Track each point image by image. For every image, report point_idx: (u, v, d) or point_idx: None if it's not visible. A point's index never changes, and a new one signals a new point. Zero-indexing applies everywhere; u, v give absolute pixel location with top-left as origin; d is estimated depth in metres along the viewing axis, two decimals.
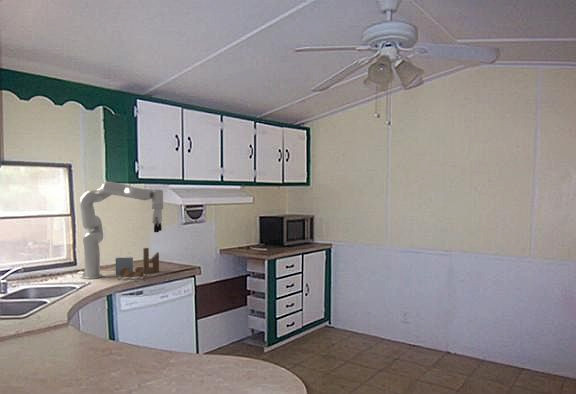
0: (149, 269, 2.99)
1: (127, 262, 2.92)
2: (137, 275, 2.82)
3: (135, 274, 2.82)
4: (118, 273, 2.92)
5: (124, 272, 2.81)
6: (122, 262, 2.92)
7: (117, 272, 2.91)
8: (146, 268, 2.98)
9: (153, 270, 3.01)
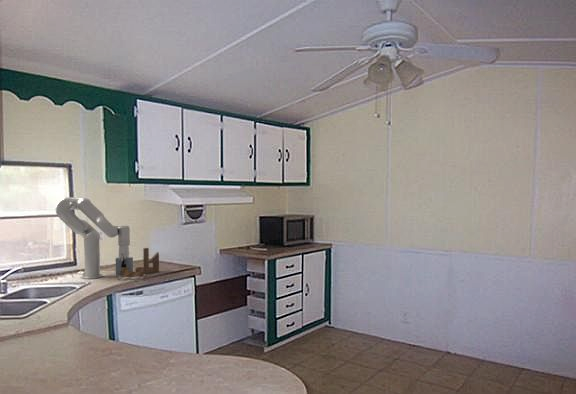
0: (149, 269, 2.99)
1: (127, 262, 2.92)
2: (137, 275, 2.82)
3: (135, 274, 2.82)
4: (118, 273, 2.92)
5: (124, 272, 2.81)
6: None
7: (117, 272, 2.91)
8: (146, 268, 2.98)
9: (153, 270, 3.01)
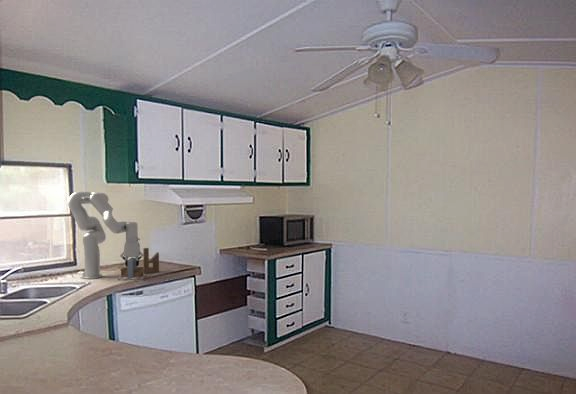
0: (149, 269, 2.99)
1: None
2: (137, 275, 2.82)
3: (135, 274, 2.82)
4: None
5: (124, 272, 2.81)
6: None
7: None
8: (146, 268, 2.98)
9: (153, 270, 3.01)
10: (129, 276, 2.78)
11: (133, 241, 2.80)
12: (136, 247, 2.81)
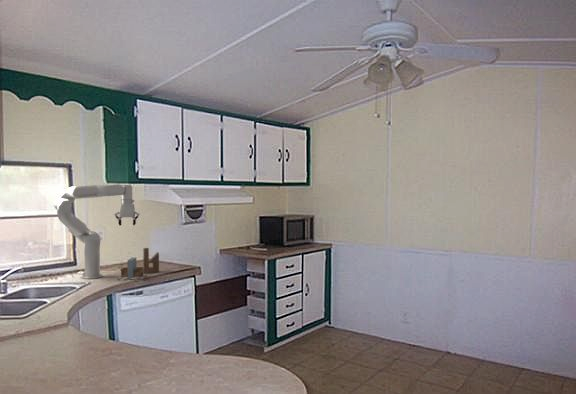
0: (149, 269, 2.99)
1: None
2: (137, 275, 2.82)
3: (135, 274, 2.82)
4: None
5: (124, 272, 2.81)
6: None
7: None
8: (146, 268, 2.98)
9: (153, 270, 3.01)
10: (129, 276, 2.78)
11: (128, 202, 2.98)
12: (131, 208, 2.99)
